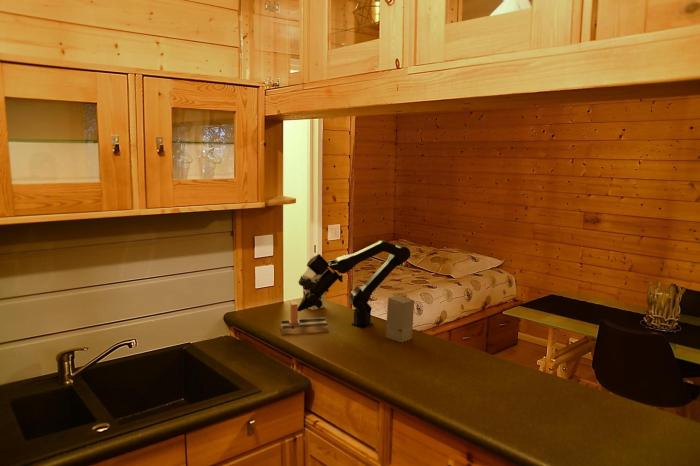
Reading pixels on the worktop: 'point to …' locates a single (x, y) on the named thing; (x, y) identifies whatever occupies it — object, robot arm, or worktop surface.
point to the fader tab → (294, 313)
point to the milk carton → (313, 276)
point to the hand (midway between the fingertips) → (297, 310)
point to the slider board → (305, 326)
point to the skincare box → (399, 318)
